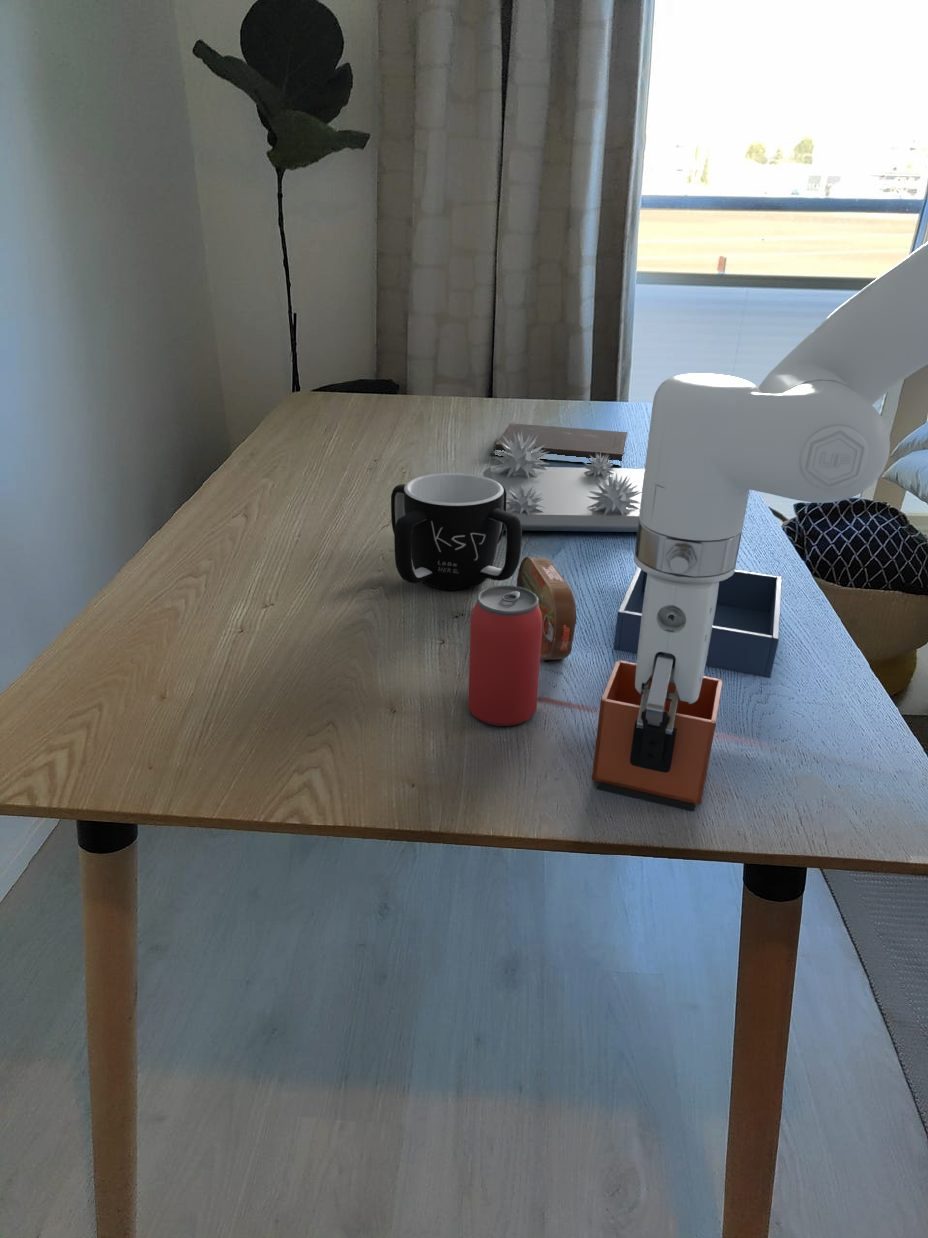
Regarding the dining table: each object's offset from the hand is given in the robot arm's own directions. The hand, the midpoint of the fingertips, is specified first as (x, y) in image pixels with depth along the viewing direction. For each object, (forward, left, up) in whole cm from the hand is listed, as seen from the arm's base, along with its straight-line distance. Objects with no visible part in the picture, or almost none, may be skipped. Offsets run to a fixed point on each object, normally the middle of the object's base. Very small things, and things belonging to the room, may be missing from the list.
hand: (657, 736), depth 72 cm
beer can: (+15, -4, -4) cm, 16 cm away
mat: (0, 0, -4) cm, 4 cm away
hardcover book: (+31, -93, -4) cm, 98 cm away
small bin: (0, 0, -3) cm, 3 cm away
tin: (+15, -19, -4) cm, 25 cm away
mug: (+30, -31, -4) cm, 44 cm away
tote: (-1, -27, -4) cm, 28 cm away
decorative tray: (+18, -64, -4) cm, 67 cm away
